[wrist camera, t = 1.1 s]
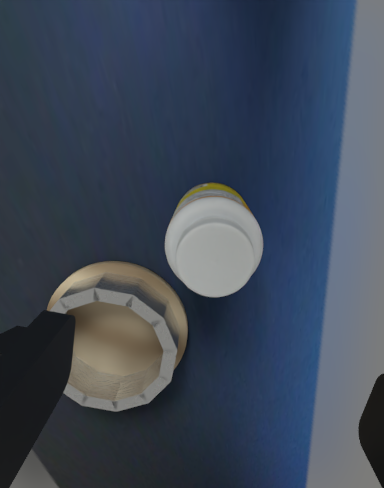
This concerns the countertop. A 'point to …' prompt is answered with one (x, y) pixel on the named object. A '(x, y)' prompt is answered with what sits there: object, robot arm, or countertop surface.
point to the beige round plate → (120, 324)
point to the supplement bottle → (213, 240)
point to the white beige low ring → (133, 385)
